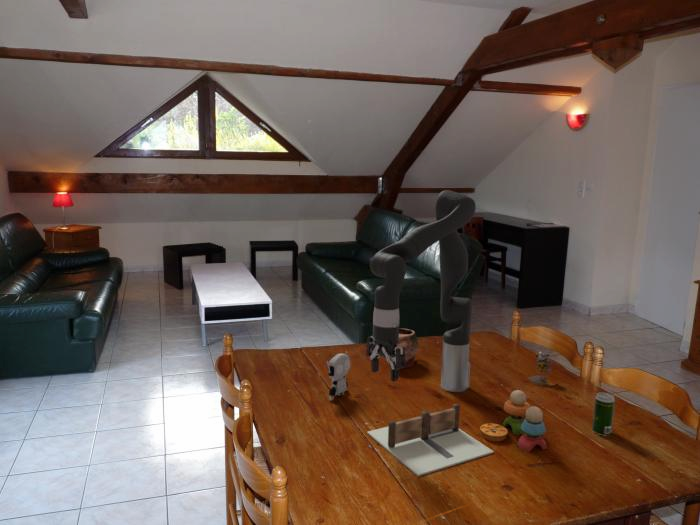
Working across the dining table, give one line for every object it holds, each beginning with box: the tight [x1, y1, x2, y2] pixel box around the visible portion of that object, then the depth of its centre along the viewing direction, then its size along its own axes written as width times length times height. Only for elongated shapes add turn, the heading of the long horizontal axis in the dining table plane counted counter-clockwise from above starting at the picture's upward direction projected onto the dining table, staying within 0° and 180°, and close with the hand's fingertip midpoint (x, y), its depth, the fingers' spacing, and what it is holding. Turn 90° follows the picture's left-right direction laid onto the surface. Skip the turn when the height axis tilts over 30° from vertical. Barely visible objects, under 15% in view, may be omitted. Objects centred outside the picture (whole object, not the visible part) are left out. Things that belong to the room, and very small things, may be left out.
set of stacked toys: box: [479, 389, 548, 453], centre depth 166 cm, size 18×17×12 cm
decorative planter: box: [387, 328, 419, 369], centre depth 225 cm, size 20×12×14 cm, turn 153°
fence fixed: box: [420, 403, 461, 440], centre depth 167 cm, size 14×2×8 cm, turn 119°
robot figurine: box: [527, 351, 553, 387], centre depth 208 cm, size 11×9×12 cm
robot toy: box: [326, 350, 351, 401], centre depth 193 cm, size 12×4×15 cm, turn 149°
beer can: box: [591, 392, 616, 436], centre depth 170 cm, size 5×5×12 cm
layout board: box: [366, 425, 494, 477], centre depth 164 cm, size 26×26×1 cm
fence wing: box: [388, 416, 422, 447], centre depth 161 cm, size 11×2×7 cm, turn 119°
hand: (384, 376), depth 164 cm, fingers open, 8 cm apart
